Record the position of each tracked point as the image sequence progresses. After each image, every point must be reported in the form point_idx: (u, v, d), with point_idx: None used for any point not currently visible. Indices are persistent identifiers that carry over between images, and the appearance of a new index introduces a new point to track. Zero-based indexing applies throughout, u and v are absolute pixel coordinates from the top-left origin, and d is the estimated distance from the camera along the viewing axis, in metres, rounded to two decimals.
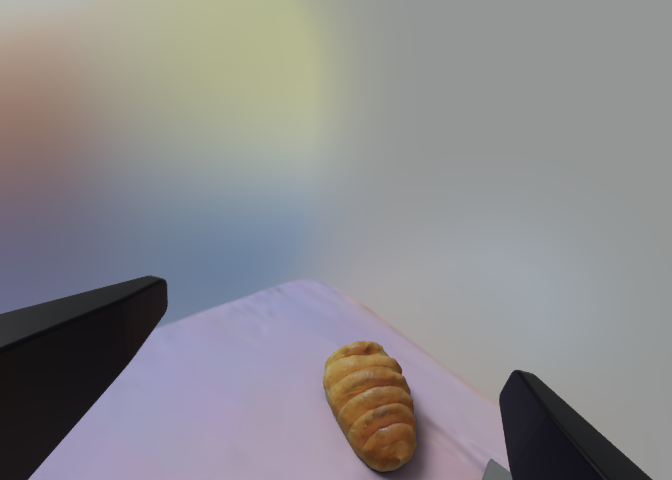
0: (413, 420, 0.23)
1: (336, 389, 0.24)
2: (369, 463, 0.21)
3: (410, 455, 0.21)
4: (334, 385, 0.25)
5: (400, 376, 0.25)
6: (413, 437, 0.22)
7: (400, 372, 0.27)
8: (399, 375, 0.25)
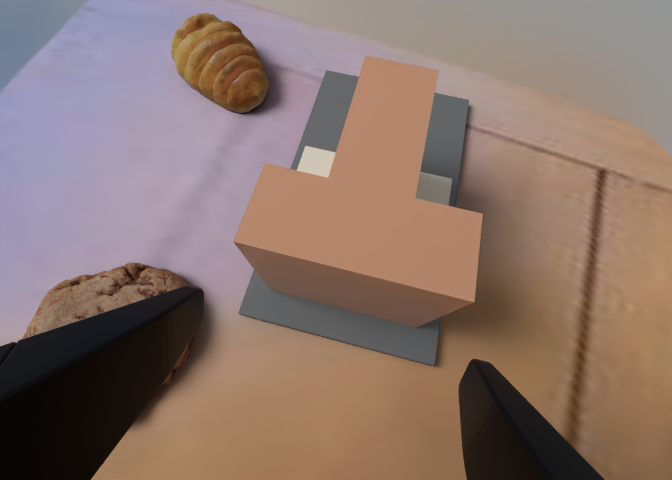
0: (258, 64, 0.27)
1: (188, 71, 0.27)
2: (238, 110, 0.27)
3: (263, 89, 0.27)
4: (185, 69, 0.27)
5: (236, 33, 0.27)
6: (262, 76, 0.27)
7: (239, 32, 0.28)
8: (235, 33, 0.27)
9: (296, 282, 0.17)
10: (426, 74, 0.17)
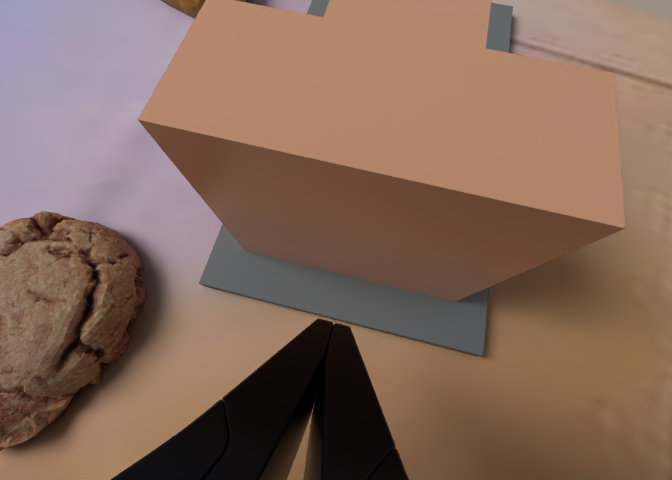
0: None
1: None
2: None
3: None
4: None
5: None
6: None
7: None
8: None
9: (276, 226, 0.11)
10: None
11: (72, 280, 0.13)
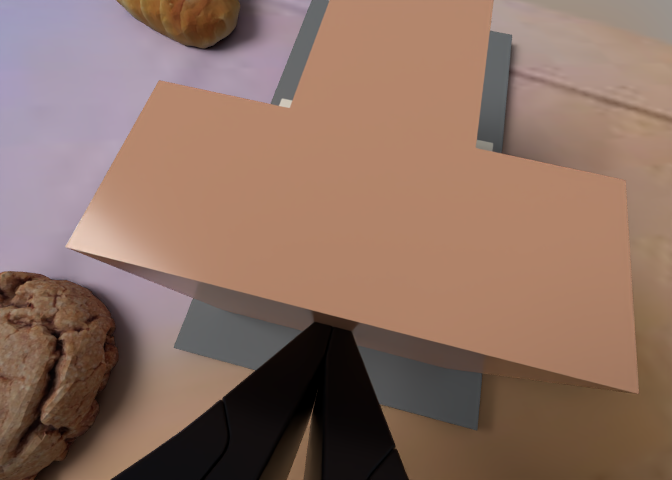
0: None
1: None
2: (199, 43, 0.20)
3: (231, 10, 0.19)
4: None
5: None
6: None
7: None
8: None
9: (248, 310, 0.10)
10: None
11: (32, 354, 0.12)
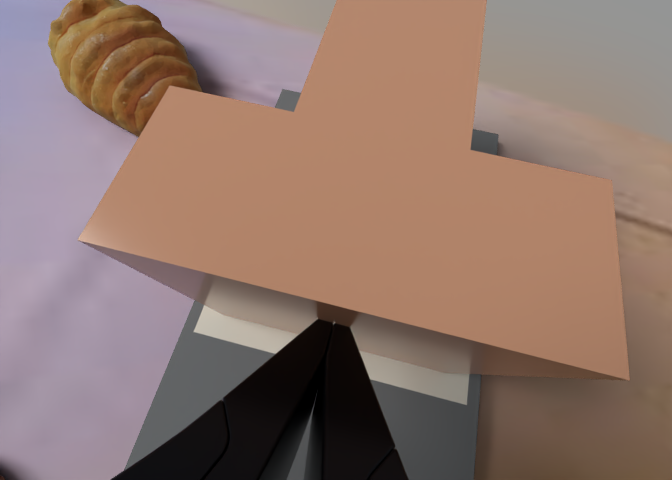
0: (184, 68, 0.18)
1: (74, 83, 0.17)
2: None
3: None
4: (69, 81, 0.17)
5: (147, 22, 0.18)
6: (191, 86, 0.18)
7: (154, 20, 0.19)
8: (146, 22, 0.18)
9: (249, 311, 0.10)
10: None
11: None
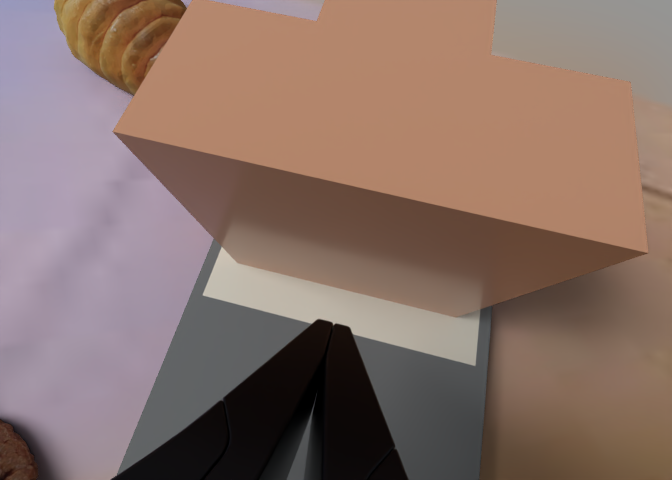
0: None
1: (82, 47, 0.17)
2: None
3: None
4: (77, 44, 0.17)
5: None
6: None
7: None
8: None
9: (268, 241, 0.10)
10: None
11: None
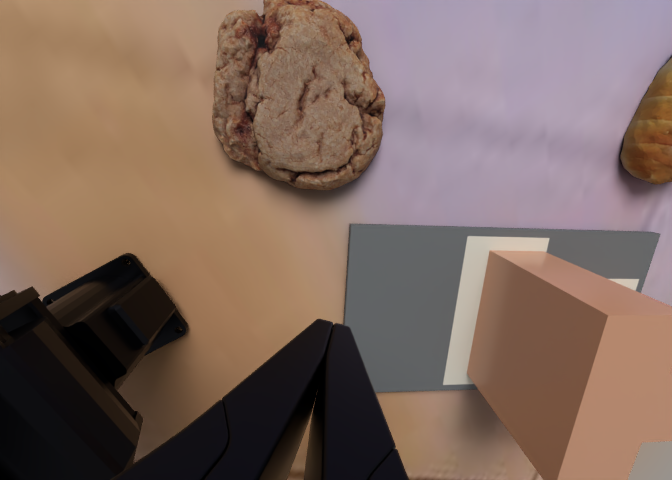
0: None
1: None
2: (625, 155, 0.21)
3: (660, 183, 0.21)
4: None
5: None
6: None
7: None
8: None
9: (524, 310, 0.19)
10: None
11: (335, 158, 0.18)
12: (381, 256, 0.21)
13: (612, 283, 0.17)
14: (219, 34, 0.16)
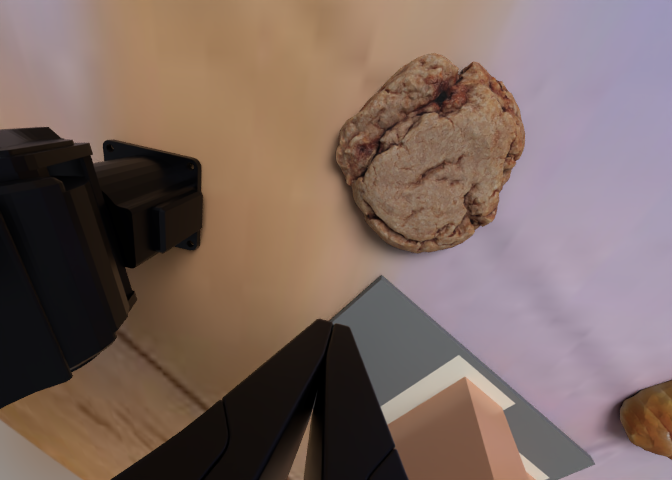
0: None
1: None
2: (629, 403, 0.22)
3: None
4: None
5: None
6: None
7: None
8: None
9: (450, 448, 0.20)
10: None
11: (415, 232, 0.18)
12: (383, 317, 0.22)
13: None
14: (413, 64, 0.15)
